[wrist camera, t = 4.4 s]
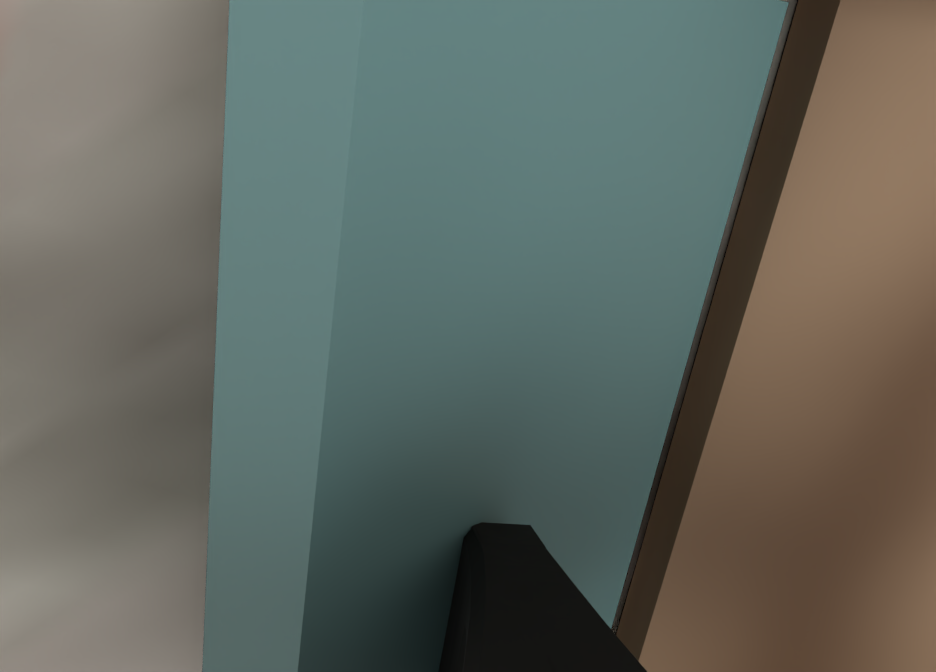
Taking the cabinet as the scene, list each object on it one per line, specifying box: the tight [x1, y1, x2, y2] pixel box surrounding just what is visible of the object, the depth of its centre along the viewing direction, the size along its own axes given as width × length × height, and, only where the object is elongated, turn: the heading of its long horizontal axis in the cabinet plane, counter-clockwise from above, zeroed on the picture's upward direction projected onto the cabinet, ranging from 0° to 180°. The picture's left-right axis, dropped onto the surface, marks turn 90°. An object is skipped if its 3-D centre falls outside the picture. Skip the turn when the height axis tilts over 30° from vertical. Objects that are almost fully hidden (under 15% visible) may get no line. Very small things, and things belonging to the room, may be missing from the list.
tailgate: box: [202, 0, 789, 672], centre depth 10 cm, size 1×12×7 cm
